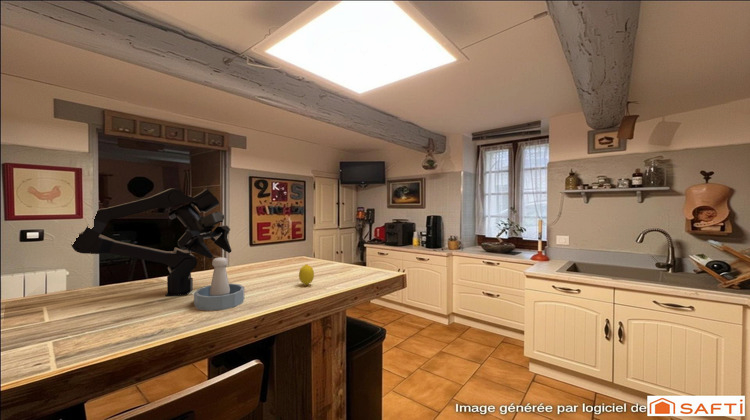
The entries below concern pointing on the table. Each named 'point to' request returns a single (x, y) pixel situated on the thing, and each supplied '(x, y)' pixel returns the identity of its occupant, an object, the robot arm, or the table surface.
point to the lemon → (306, 274)
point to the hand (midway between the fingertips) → (221, 254)
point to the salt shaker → (219, 278)
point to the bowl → (218, 298)
